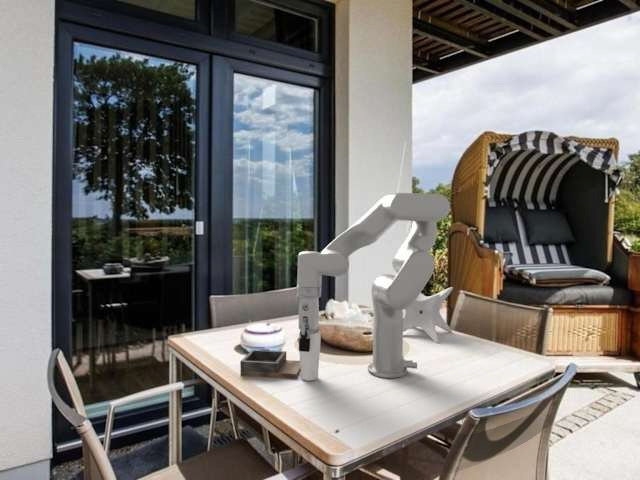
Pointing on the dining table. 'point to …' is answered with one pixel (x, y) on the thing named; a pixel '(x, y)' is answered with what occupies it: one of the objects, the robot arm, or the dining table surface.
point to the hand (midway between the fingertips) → (307, 346)
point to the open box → (269, 364)
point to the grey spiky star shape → (427, 314)
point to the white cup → (311, 357)
